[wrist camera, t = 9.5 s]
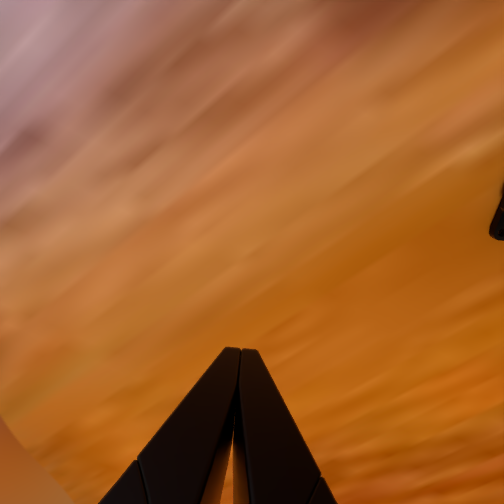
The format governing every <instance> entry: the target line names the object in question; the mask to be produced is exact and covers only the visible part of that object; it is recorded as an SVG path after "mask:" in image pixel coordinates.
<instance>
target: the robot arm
mask: <svg viewBox="0 0 504 504" xmlns="http://www.w3.org/2000/svg"><path fill="white" fill-rule="evenodd" d="M501 229H502V231H501V233H499V234H498V232H499V231H500V230H501ZM489 234H490V236H491V237H492V238H494V239H497V240H502V241H504V197H503V199H502V201H501V204H500V206H499V209H498V211H497V213H496V216H495V218H494V221H493V223H492V226H491V228H490V231H489ZM240 356H241V357H240ZM234 420H235V421H234ZM233 430H234V433H233ZM232 439H233V504H338V503H337V502H336V500H335V498H334V496H333V494H332V492H331V490H330V488H329V486H328V484H327V483H326V481H325V479H324V477H321V471H320V469H319V468H318V466H317V464H316V462H315V460H314V458H313V456H312V454H311V452H310V450H309V448H308V446H307V444H306V442H305V441H304V439H303V437H302V435H301V433H300V431H299V429H298V427H297V425H296V423H295V421H294V419H293V417H292V416H291V414H290V412H289V410H288V408H287V406H286V404H285V402H284V400H283V398H282V396H281V394H280V392H279V390H278V389H277V387H276V385H275V383H274V381H273V379H272V377H271V375H270V373H269V371H268V369H267V367H266V365H265V364H264V362H263V360H262V358H261V356H260V354H259V352H258V351H257V350H256V349H246V348H243V349H242V350H241V349H240V348H236V347H225V348H224V349H223V350H222V351H221V353H220V354H219V355H218V356H217V358H216V359H215V360H214V361H213V363H212V364H211V365H210V366H209V368H208V369H207V370H206V371H205V373H204V374H203V375H202V376H201V378H200V379H199V380H198V381H197V383H196V384H195V385H194V386H193V388H192V389H191V390H190V391H189V393H188V394H187V395H186V396H185V397H184V399H183V400H182V401H181V402H180V404H179V405H178V406H177V407H176V409H175V410H174V411H173V412H172V414H171V415H170V416H169V417H168V419H167V420H166V421H165V422H164V424H163V425H162V426H161V427H160V429H159V430H158V431H157V432H156V434H155V435H154V436H153V437H152V439H151V440H150V441H149V442H148V444H147V445H146V446H145V447H144V448H143V450H142V451H141V452H140V453H139V455H138V456H137V460H134V461H133V462H132V463H131V464H130V466H129V467H128V468H127V469H126V471H125V472H124V473H123V474H122V476H121V477H120V478H119V479H118V481H117V482H116V483H115V484H114V485H113V486H112V488H111V489H110V490H109V491H108V492H107V494H106V495H105V496H104V497H103V498H102V499H101V501H100V502H99V503H98V504H220V499H221V494H222V490H223V485H224V480H225V475H226V470H227V466H228V461H229V456H230V451H231V445H232Z"/></svg>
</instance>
